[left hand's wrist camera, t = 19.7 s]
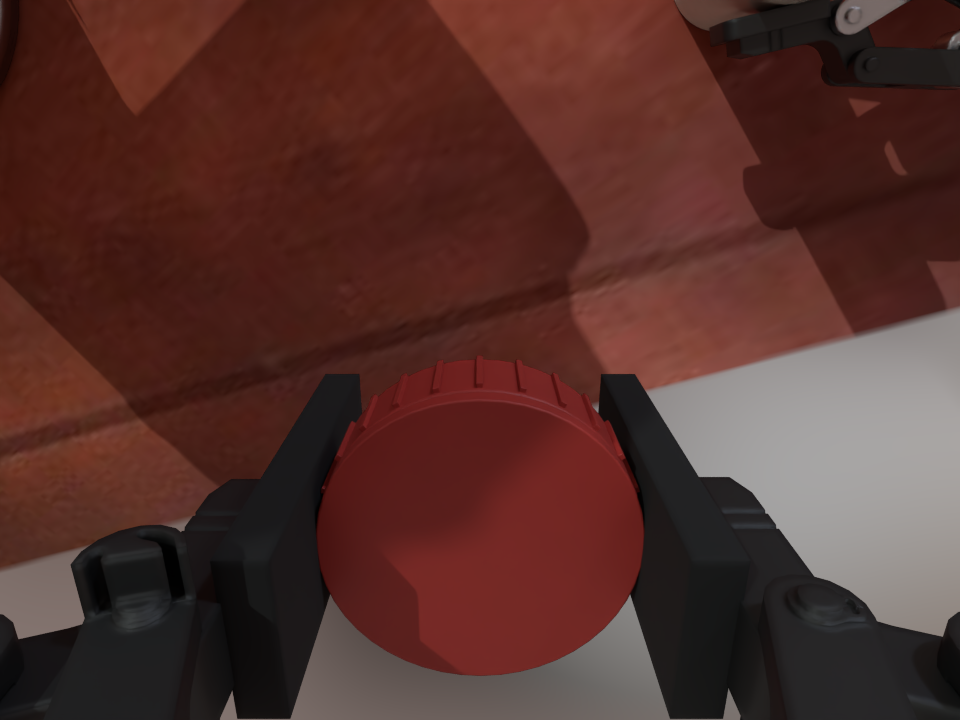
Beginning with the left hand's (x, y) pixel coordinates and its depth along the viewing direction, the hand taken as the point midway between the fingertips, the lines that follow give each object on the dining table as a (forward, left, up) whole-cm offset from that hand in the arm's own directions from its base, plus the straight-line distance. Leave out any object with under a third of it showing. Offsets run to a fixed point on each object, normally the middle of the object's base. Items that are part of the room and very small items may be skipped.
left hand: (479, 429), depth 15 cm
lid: (0, 0, +4) cm, 4 cm away
